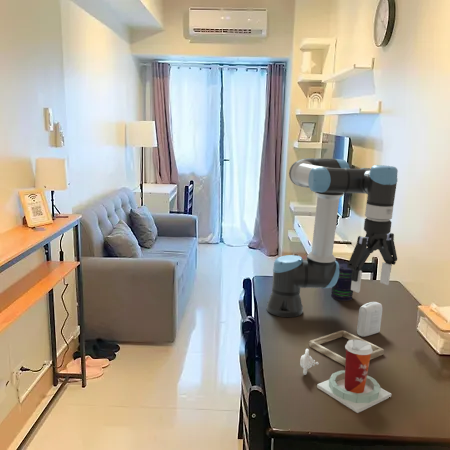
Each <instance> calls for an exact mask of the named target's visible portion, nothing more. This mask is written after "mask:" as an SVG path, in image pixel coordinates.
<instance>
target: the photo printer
mask: <svg viewBox="0 0 450 450" xmlns="http://www.w3.org/2000/svg"><path fill="white" fill-rule="evenodd" d="M383 309H384V308H383V305H382V303H379V302H377V301H370V302H367V303H364V304H363V305H362V306H360V307H359V309H358V319H357V324H356V325H357V326H356V333H357V335H358V337H368V336H372V335H375V334H378V333H380V332H381V331H380V330H381V325H382V324H381V323H382V317H383V316H382V315H383Z"/></svg>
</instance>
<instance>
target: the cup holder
mask: <svg viewBox="0 0 450 450" xmlns="http://www.w3.org/2000/svg"><path fill="white" fill-rule="evenodd" d="M316 387H317V389H319V390H321V391H322V392H323V393H324V394H327V395H329V397H331V398H333V399H334V400H336V401H338V402H339V403H340V404H342V405H344V406H345V407H347V408H348V409H350V410H351V411H353V412H355V413H357V414H359V413H362V412H363V411H365V410H367V409H369V408H371V407H373V406H376V405H378V404H379V403H381V402H384V401H385V400H387V399H389V397H390V398H391V397H392V393H391V392H389V391H387V390H385V389H384V388H382V387H381V385H380V384H379V382H378V381H377V380H376V379H375V378H373V377H372V376H369V375H368V374H367V378H366V383H365V388H364V392H363V393H353V392H350V391H347V390H346V389H345V370H343V369H342V370H338V371H335V372H333V373H331V375H330V377H329V379H327V380H324V381H322V382H320V383H317V385H316Z"/></svg>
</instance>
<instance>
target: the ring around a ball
mask: <svg viewBox="0 0 450 450" xmlns="http://www.w3.org/2000/svg"><path fill="white" fill-rule="evenodd" d="M318 365H319V361H316V359H313V357H312V356H311V355H310V349H309V348H306V349H305V352H304V354H302V355H301V357H300V361H299V366H300V367H301V368H303V371H302V374H303V376H306V375H307V374H308V369H310V368H312V367H315V366H318Z"/></svg>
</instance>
